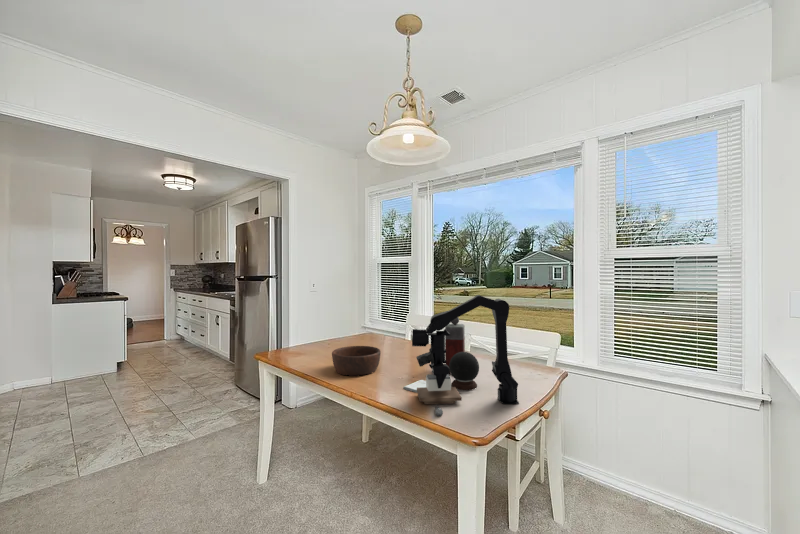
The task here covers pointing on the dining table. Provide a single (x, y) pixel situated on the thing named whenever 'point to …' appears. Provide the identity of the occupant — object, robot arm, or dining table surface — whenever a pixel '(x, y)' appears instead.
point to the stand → (438, 396)
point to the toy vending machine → (454, 340)
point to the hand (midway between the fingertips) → (438, 385)
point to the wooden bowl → (356, 360)
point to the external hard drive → (415, 385)
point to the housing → (432, 382)
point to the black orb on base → (464, 370)
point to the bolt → (438, 411)
